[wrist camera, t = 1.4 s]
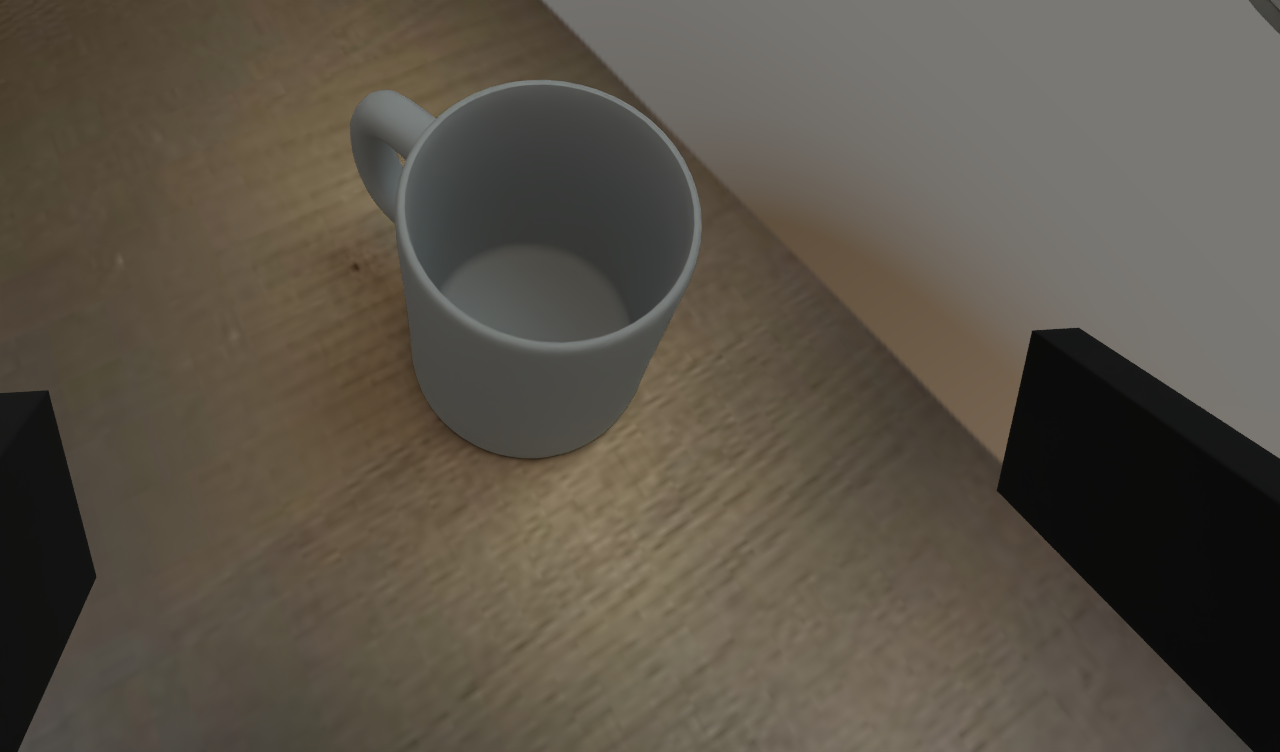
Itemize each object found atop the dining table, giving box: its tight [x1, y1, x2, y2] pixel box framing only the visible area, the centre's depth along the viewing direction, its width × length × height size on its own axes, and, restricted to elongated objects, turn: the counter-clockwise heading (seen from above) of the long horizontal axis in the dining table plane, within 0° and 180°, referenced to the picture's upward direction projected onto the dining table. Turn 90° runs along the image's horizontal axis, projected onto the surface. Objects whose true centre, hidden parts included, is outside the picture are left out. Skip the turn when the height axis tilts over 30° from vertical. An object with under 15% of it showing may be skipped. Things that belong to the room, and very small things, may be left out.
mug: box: [350, 80, 702, 458], centre depth 32 cm, size 12×8×11 cm
